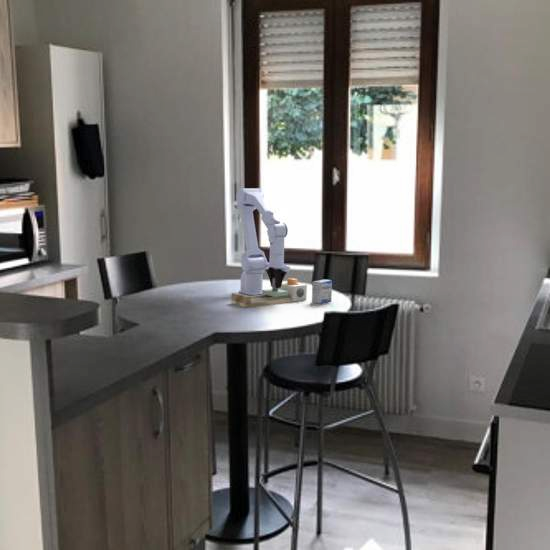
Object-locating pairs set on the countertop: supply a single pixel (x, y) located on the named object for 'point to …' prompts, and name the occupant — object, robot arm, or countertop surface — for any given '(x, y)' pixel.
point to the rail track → (258, 300)
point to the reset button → (292, 281)
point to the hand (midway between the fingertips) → (275, 287)
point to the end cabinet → (295, 290)
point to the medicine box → (321, 291)
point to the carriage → (274, 291)
